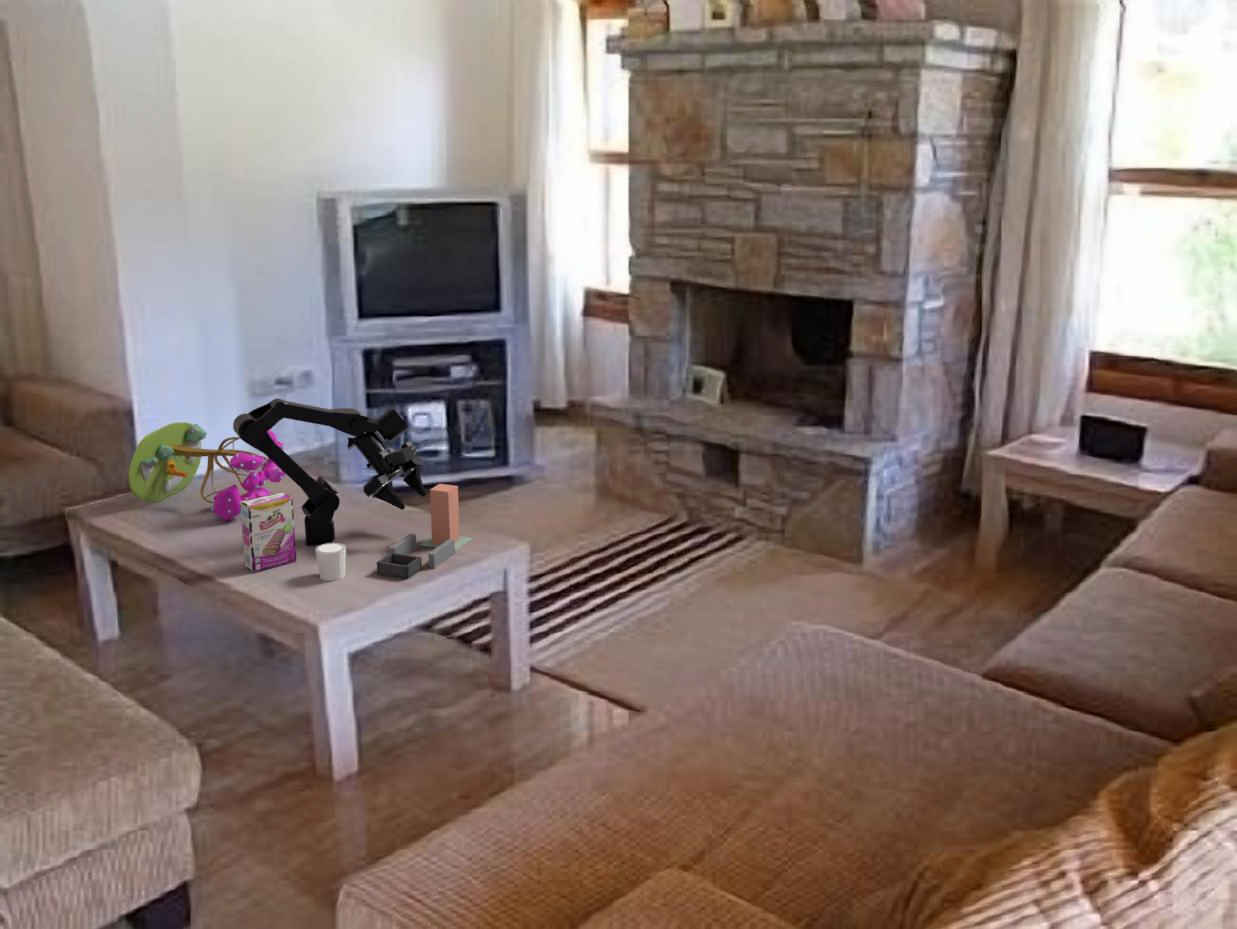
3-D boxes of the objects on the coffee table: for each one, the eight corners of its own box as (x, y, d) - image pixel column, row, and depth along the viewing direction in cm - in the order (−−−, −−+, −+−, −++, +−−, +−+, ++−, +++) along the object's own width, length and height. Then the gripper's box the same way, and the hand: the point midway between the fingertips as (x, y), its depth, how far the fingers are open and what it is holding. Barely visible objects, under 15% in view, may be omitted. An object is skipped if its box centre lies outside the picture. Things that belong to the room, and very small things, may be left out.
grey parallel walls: (389, 561, 275) (389, 547, 274) (411, 547, 284) (410, 533, 283) (434, 568, 271) (434, 554, 270) (454, 553, 280) (454, 540, 279)
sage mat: (419, 545, 285) (419, 545, 285) (437, 533, 293) (437, 533, 293) (455, 551, 282) (455, 550, 282) (472, 538, 290) (472, 538, 290)
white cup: (319, 570, 269) (317, 542, 267) (349, 570, 270) (347, 541, 268) (314, 582, 263) (312, 553, 261) (345, 581, 263) (343, 552, 261)
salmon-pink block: (432, 543, 286) (429, 489, 282) (441, 536, 290) (439, 483, 286) (450, 546, 284) (448, 492, 280) (459, 539, 289) (457, 486, 285)
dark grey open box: (377, 574, 268) (376, 562, 267) (392, 564, 273) (391, 552, 273) (407, 579, 265) (407, 566, 264) (422, 569, 271) (421, 557, 270)
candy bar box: (254, 574, 267) (248, 506, 262) (244, 567, 271) (238, 501, 266) (298, 561, 275) (293, 496, 270) (288, 556, 278) (282, 491, 273)
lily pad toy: (193, 383, 318) (300, 413, 308) (209, 469, 334) (311, 500, 324) (114, 436, 295) (227, 471, 284) (135, 525, 311) (243, 562, 300)
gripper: (371, 446, 275) (411, 498, 275) (415, 424, 291) (454, 473, 291) (345, 471, 281) (385, 522, 280) (390, 448, 297) (428, 496, 296)
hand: (414, 502), depth 287 cm, fingers open, 9 cm apart
